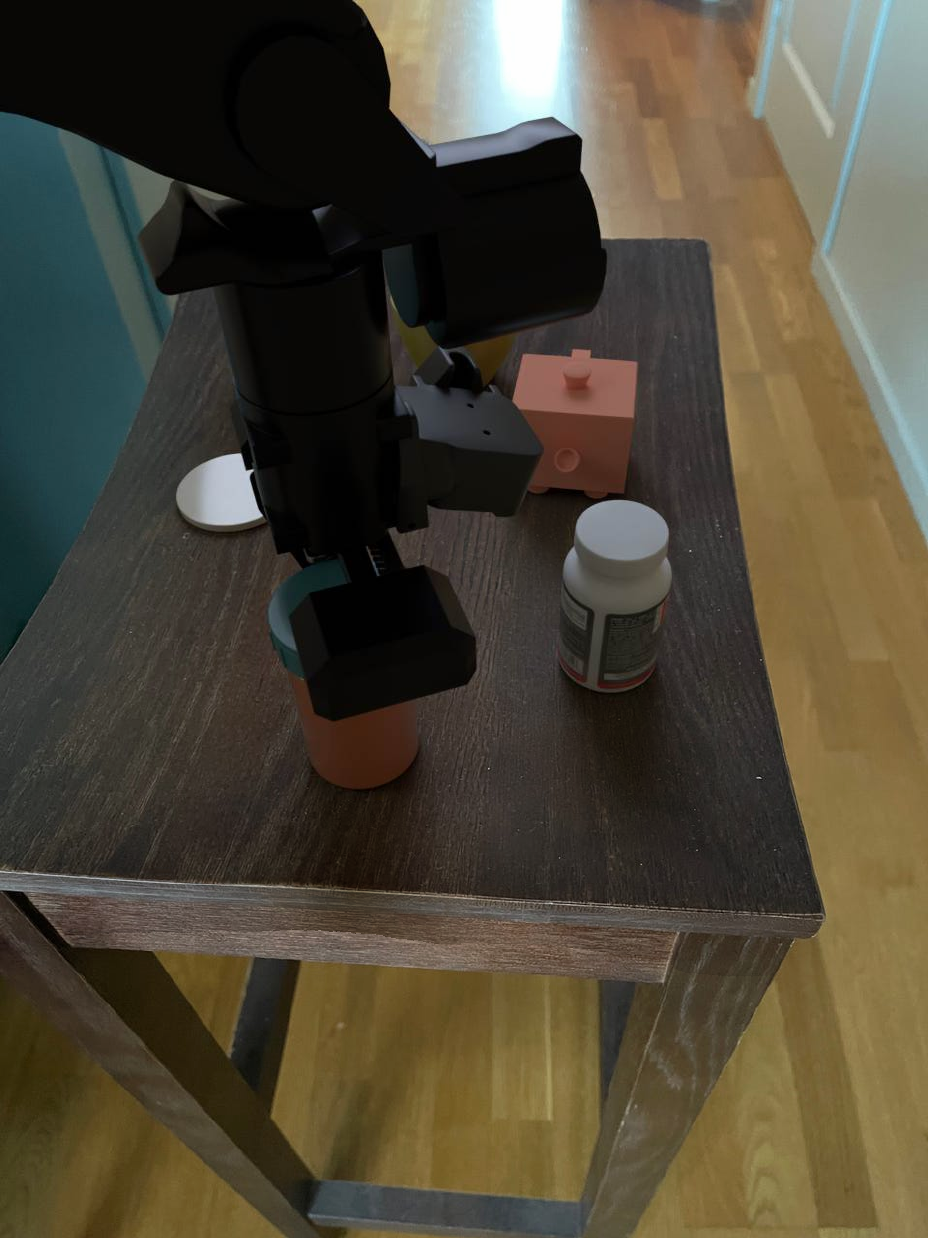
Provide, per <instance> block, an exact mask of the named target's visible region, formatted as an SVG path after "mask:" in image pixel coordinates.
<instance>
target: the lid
mask: <svg viewBox="0 0 928 1238" xmlns="http://www.w3.org/2000/svg"><path fill="white" fill-rule="evenodd" d="M372 564H373V566H374V569H375V571H376V574H377V576H379V574H378V569H377V568H376V567H375V562H373V561H372ZM343 584H347V582H346V579H345V576H344V573H343V571H342V568H341V565H340V562H339V559H334V560H328V561H324V562H320V563H317V564H314V565H311V566H308V567H306V568H304V569H302V568H301V569H300V570H298V571H297V572H295V573H293V574H292V575H290V576H289V577H288V578H287V579H286V580H284V581H283V582H282V583H281V585H279V586H278V588H277V589H276V590H275V591H274V593H273V595H272V597H271V598H270V602H269V603H268V604H269V605H268V607H267V609H268V610H267V622H268V626H269V629H268V633H269V637H270V640H271V646H272V649H273V651H274V652H276V655H277V657H278V659H279V661H280V663H281V664H282V665H283V668H284V669H286V670H287V669H288V670H289V671H290V672H292V673H293V674H294V675H296V676H298V677H300V678H301V679H304V675H303V672H302V668H301V665H300V661H299V657H298V653H297V649H296V646H295V642H294V638H293V634H292V630H291V625H290V621H289V617H288V616H289V615H290V614H291V613H292V611H293V610H294V609H295V608H296V607H297V606H298V605H299V603H300V602H301V601H302V600H303V599H304V598H305V597H306V596H307V594H308V593H310V592H314V591H318V590H323V589H327V588H331V587H335V586H339V585H343ZM304 681H305V679H304Z"/></svg>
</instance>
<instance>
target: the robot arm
mask: <svg viewBox="0 0 928 1238" xmlns="http://www.w3.org/2000/svg"><path fill="white" fill-rule="evenodd" d="M391 89H392V82H391V77H390V73H389V68H388V63H387V58H386V53H385V48H384V46H383V44H382V43H381V40H380V38H379V37H378V35H377V33H376V31H375V29H374V27H373V25H372V24H371V22H370V20H369V17H368V16H367V14H366V13H365V11H364V9H363V8H362V7H361V6H360V5H359V4H358V3H356V1H355V0H0V113H4V114H11V115H17V116H21V117H24V118H28V119H31V120H34V121H36V122H40V123H43V124H45V125H49V126H51V127H54V128H57V129H60V130H63V131H67V132H69V133H71V134H74V135H77V136H80V137H82V138H83V139H85V140H87V141H89V142H91V143H93V144H95V145H98V146H99V147H101V148H103V149H106V150H108V151H110V152H112V153H114V154H116V155H118V156H121V157H123V158H124V159H126V160H128V161H131V162H133V163H135V164H137V165H139V166H141V167H143V168H145V169H147V170H149V171H151V172H153V173H155V174H158V175H160V176H163V177H165V178H169V179H172V181H171V182H170V183H169V186H168V192H167V195H166V198H165V200H164V202H163V204H162V205H161V207H160V208H159V209H158V210H157V211H156V212H155V213H154V214H153V215H152V217H151V218H150V219H149V221H148V222H147V223H146V224H145V226H144V227H143V228H141V230H140V231H139V232H138V235H137V245H138V246H139V249H140V252H141V254H142V256H143V259H144V261H145V264H146V266H147V269H148V271H149V273H150V276H151V279H152V281H153V283H154V285H155V288H156V289H157V291H158V292H159V293H161V294H162V295H164V296H168V297H169V296H175V295H176V296H177V295H182V294H187V293H190V292H195V291H201V290H206V289H210V288H212V291H213V295H214V299H215V303H216V307H217V311H218V316H219V320H220V321H219V322H220V324H221V327H222V329H221V330H222V333H223V337H224V342H225V346H226V349H227V355H228V359H229V363H230V367H231V371H232V375H230V377H231V382H232V386H233V390H234V395H235V400H234V401H233V402H232V404H231V405H230V407H229V413H230V417H231V421H232V425H233V430H234V432H235V433H234V434H235V436H236V440H237V445H238V448H239V451H240V452H239V453H241V456H242V459H243V463H244V466H245V470H246V471H248V470H254V471H253V472H252V473H251V474H250V482H251V486H252V489H253V493H254V496H255V500H256V503H257V507H258V509H259V511H260V513H261V514H262V515H263V517H264V518H265V519H266V521H267V522H266V523H267V524H268V527H269V531H270V535H271V537H272V541H273V545H274V548H275V552H276V555H277V556H279V555H283V554H288V553H290V554H291V556H292V557H293V558H294V560H295V561H296V562H297V564H298V566H300V568H301V570H302V569H304V568H306V567H308V566H311V565H314V564H317V563H320V562H324V561H328V560H334V559H339V562H340V565H341V568H342V571H343V573H344V576H345V579H346V582H347V584H343V585H339V586H335V587H331V588H327V589H323V590H318V591H314V592H310V593H308V594H307V596H306V597H305V598H304V599H303V600H302V601H301V602H300V603H299V605H298V606H297V607H296V608H295V609H294V610H293V611H292V613H291V614H290V615H289V616H288V617H289V621H290V625H291V630H292V634H293V638H294V642H295V646H296V649H297V653H298V657H299V661H300V665H301V668H302V672H303V675H304V679H305V682H306V686H307V689H308V693H309V697H310V700H311V704H312V707H313V711H314V714H315V715H317V716H320V717H322V718H325V719H327V720H329V721H332V722H335V721H339V720H342V719H346V718H349V717H353V716H357V715H360V714H364V713H367V712H371V711H375V710H378V709H382V708H385V707H389V706H393V705H396V704H400V703H403V702H407V701H411V700H414V699H415V700H418V699H421V698H422V699H423V698H425V697H428V696H433V695H435V694H440V693H442V692H446V691H447V692H448V691H450V690H454V689H457V688H461V687H464V686H468V684H469V683H470V681H471V680H472V678H473V677H474V675H475V674H476V672H477V665H478V664H477V636H476V634H475V632H474V630H473V628H472V626H471V623H470V622H469V619H468V616H467V615H466V613H465V611H464V609H463V607H462V604H461V602H460V600H459V598H458V595H457V593H456V591H455V589H454V588H453V585H452V583H451V581H450V578H449V577H448V575H446V574H444V573H442V572H440V571H437V570H436V569H433V568H432V567H429V566H427V565H425V564H420V565H416V566H412V567H407V566H405V565H404V563H403V561H402V558H401V556H400V553H399V551H398V548H397V546H396V544H395V542H394V539H393V537H392V535H391V533H390V531H389V529H394V528H395V530H396V532H397V533H398V534H402V535H403V534H407V533H411V532H415V531H419V530H423V529H427V528H430V524H429V522H430V521H429V509H428V507H431V508H434V509H437V510H443V511H457V512H458V511H459V512H473V513H474V512H476V513H491V514H493V515H494V517H497V518H510V517H514V516H516V515H517V514H518V513H519V511H520V509H521V506H522V504H523V502H524V499H525V497H526V495H527V493H528V491H529V490H528V487H529V485H530V483H531V480H532V478H533V476H534V473H535V471H536V469H537V466H538V464H539V462H540V459H541V457H542V455H543V452H544V447H543V445H542V443H541V441H540V440H539V438H538V437H537V435H536V434H535V432H534V431H533V429H532V428H531V426H530V425H529V423H528V422H527V420H526V419H525V417H524V416H523V414H522V413H521V411H520V410H519V408H518V407H517V406H516V405H515V404H514V403H513V402H512V401H513V400H511V399H510V398H508V397H506V396H504V395H503V394H502V393H501V391H500V389H499V388H498V386H497V385H494V384H487V386H486V391H485V388H484V386H483V380H482V373H481V369H480V367H479V366H478V364H477V363H476V361H475V360H474V358H473V357H472V355H471V354H470V352H469V350H468V349H466V348H461V346H466V345H470V344H474V343H478V342H482V341H486V340H490V339H494V338H498V337H502V336H506V335H511V334H515V333H516V334H518V333H523V332H527V331H531V330H535V329H539V328H544V327H547V326H551V325H555V324H559V323H564V322H568V321H571V320H575V319H580V318H584V317H586V316H587V315H589V314H591V313H592V312H593V311H594V309H595V308H596V307H597V305H598V304H599V302H600V300H601V296H602V294H603V291H604V287H605V283H606V278H607V277H606V276H607V270H608V269H607V267H608V252H607V249H606V247H604V245H603V244H602V233H601V232H602V231H601V228H600V227H601V226H600V221H599V216H598V210H597V207H596V205H595V204H596V203H595V201H594V197H593V194H592V191H591V189H590V186H589V183H588V182H587V180H586V178H585V176H584V174H583V172H582V171H581V169H582V154H583V142H584V141H583V138H582V137H581V136H580V135H579V134H578V133H577V132H575V131H574V130H573V129H571V128H570V127H568V126H567V125H565V124H564V123H563V122H561V121H560V120H558V119H557V118H556V117H554V116H548V117H547V116H546V117H542V118H537V119H531V120H526V121H523V122H519V123H517V124H515V125H514V126H511V127H509V128H507V129H505V130H501V131H498V132H494V133H489V134H483V135H478V136H472V137H467V138H460V139H457V140H456V139H455V140H449V141H444V142H439V143H435V144H426V142H424V141H423V139H421V138H420V137H419V136H418V135H417V134H416V133H415V132H414V131H413V130H412V129H410V128H409V126H407V125H406V124H405V123H404V122H403V121H402V120H401V119H400V118H398V117H397V115H396V114H394V112H393V111H392V110H391V108H390V106H391V105H390V103H391V92H392V91H391ZM192 186H193V187H196V188H199V189H202V190H205V191H208V192H211V193H213V194H216V195H220V196H223V197H226V198H224V199H216V198H215V199H214V198H211V197H209V196H206V195H204V194H202V193H200V192H198V191H197V190H195V189H194V188H193V187H192ZM385 278H386V280H385ZM386 282H387V285H388V290H389V293H390V295H391V296H392V299H393V302H394V305H395V307H396V309H397V312H398V314H399V316H400V317H401V319H402V321H403V322H404V323H405V324H406V325H407V326H408V327H409V328H416V327H420V326H424V327H425V328H426V330H427V332H428V334H429V335H430V337H431V339H432V340H433V341H434V342H435V344H436V345H438V347H437V348H436V349H435V350H434V351H433V352H432V353H431V354H430V356H429V357H428V358H427V359H426V360H425V361H424V362H423V363H422V365H421V366H420V367H419V368H417V369H416V370H415V371H414V373H413V374H412V375H411V377H410V380H409V383H408V385H396V384H395V376H394V375H395V374H394V366H393V365H394V364H393V359H392V358H393V357H392V346H391V345H392V343H391V335H390V334H391V333H390V324H389V323H390V321H389V313H388V301H387V290H386ZM368 550H369V551H368ZM369 553H370V554H369ZM371 557H372V559H371ZM372 562H375V567H376V568H377V569H378V574H379V576H377V574H376V571H375V569H374V566H373V564H372Z"/></svg>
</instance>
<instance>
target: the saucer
mask: <svg viewBox="0 0 928 1238" xmlns="http://www.w3.org/2000/svg"><path fill="white" fill-rule="evenodd" d="M253 471H254V470H248V471H246V470H245V466H244V463H243V459H242V456H241V452H239V453H231V454H225V455H220V456H218V457H215V458H212V459H209V460H207V461H204V462H203V463H201V464H199V465H197V466H196V467H195V468H193V469H191V470H190V471H189V472H188V473H187V474H186V475H185V476H184V477H183V478H182V479H181V481H180V483H179V484H178V487H177V489H176V494H175V501H176V505H177V509H178V510H179V513H180V515H181V516H182V518H183V519H184V520H186V521H187V522H188V523H189V524H191V525H192V526H194V527H195V528H198V529H201V530H205V531H208V532H217V533H234V532H240V531H245V530H249V529H252V528H256V527H258V526H261V525H264V524H265V523H268V522H267V521H266V519H265V518H264V517H263V515H262V514H261V513H260V511H259V509H258V507H257V503H256V500H255V496H254V493H253V489H252V486H251V482H250V474H251V473H252V472H253Z"/></svg>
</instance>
